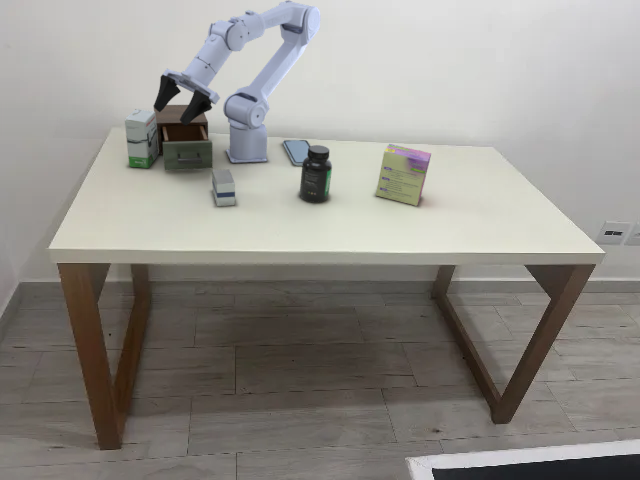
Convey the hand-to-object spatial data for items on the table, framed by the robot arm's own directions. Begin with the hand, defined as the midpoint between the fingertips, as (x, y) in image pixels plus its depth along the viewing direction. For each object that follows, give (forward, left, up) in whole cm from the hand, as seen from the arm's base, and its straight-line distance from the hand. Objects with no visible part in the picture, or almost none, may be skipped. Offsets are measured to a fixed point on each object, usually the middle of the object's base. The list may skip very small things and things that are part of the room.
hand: (169, 116), depth 108 cm
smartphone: (-35, -12, -16) cm, 40 cm away
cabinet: (-4, -22, -16) cm, 28 cm away
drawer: (-4, -9, -15) cm, 18 cm away
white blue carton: (-10, +10, -16) cm, 21 cm away
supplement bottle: (-31, +12, -16) cm, 37 cm away
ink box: (+6, -12, -16) cm, 21 cm away
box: (-52, +15, -16) cm, 56 cm away
